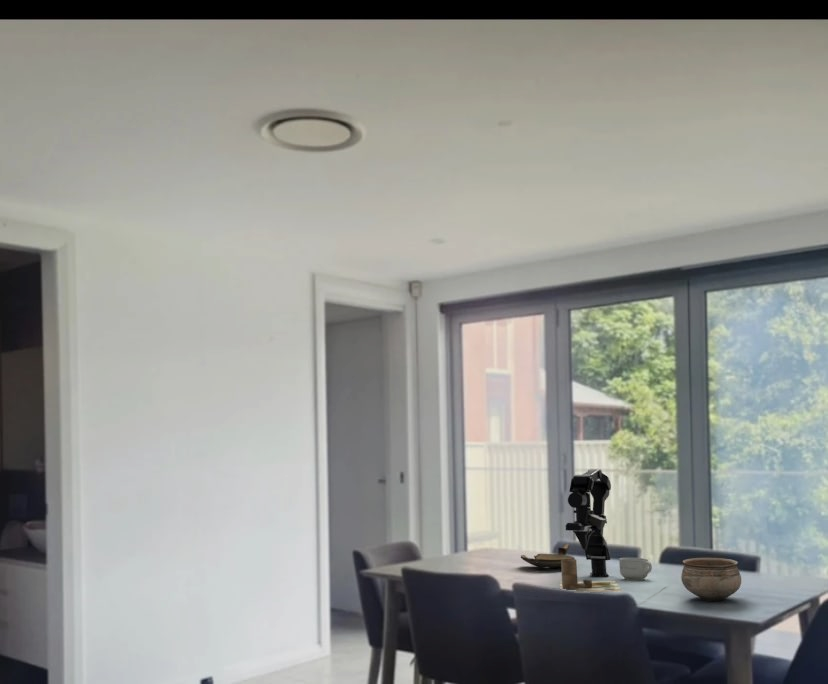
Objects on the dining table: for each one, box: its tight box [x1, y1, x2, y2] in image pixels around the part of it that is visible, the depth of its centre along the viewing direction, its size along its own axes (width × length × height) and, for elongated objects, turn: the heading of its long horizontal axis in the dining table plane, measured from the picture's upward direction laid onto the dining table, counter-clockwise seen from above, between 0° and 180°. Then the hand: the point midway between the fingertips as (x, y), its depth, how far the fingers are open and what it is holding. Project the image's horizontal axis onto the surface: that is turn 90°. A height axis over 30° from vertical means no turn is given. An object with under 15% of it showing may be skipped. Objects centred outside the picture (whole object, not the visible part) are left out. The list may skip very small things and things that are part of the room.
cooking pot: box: [680, 557, 742, 602], centre depth 269 cm, size 25×19×12 cm
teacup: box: [618, 557, 653, 581], centre depth 308 cm, size 14×11×8 cm
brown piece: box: [560, 559, 610, 589], centre depth 292 cm, size 18×3×10 cm, turn 101°
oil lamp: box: [520, 543, 575, 569], centre depth 346 cm, size 22×30×8 cm
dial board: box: [558, 580, 624, 593], centre depth 293 cm, size 20×21×1 cm
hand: (584, 549), depth 307 cm, fingers closed
